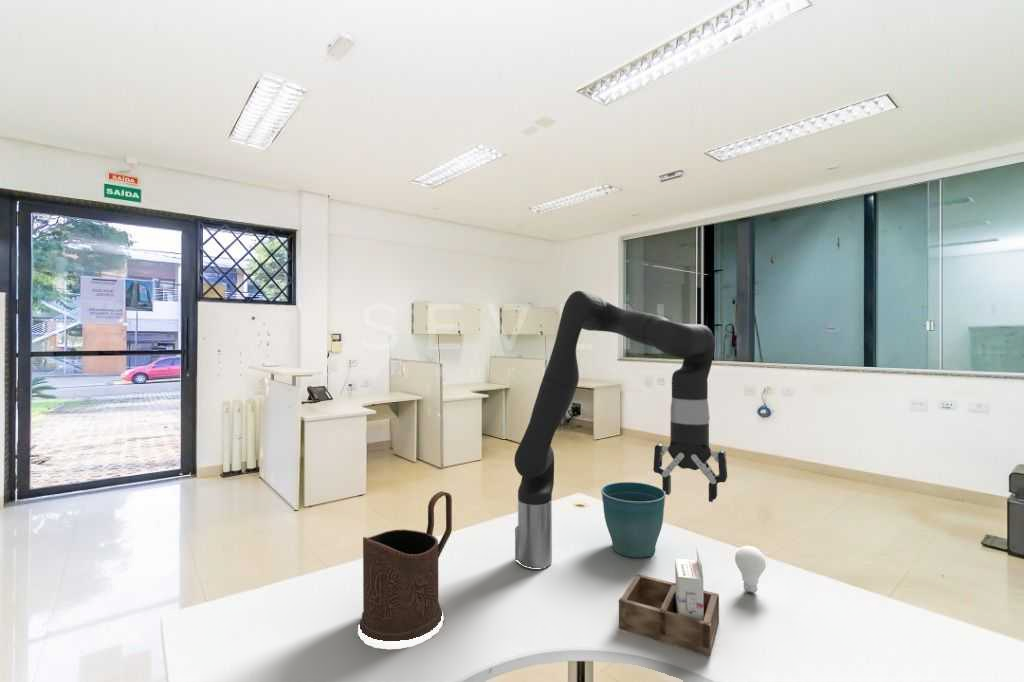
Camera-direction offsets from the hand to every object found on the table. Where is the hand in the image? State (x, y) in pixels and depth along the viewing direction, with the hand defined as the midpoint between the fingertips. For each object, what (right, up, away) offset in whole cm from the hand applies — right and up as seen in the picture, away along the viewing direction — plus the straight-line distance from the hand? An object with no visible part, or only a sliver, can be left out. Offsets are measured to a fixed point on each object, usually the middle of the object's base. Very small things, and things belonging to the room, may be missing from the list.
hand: (689, 497), depth 99 cm
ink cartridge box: (0, -27, 0) cm, 27 cm away
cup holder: (-59, -28, +6) cm, 66 cm away
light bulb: (+20, -28, +15) cm, 38 cm away
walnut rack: (-3, -28, +2) cm, 28 cm away
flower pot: (-2, -28, +38) cm, 48 cm away
